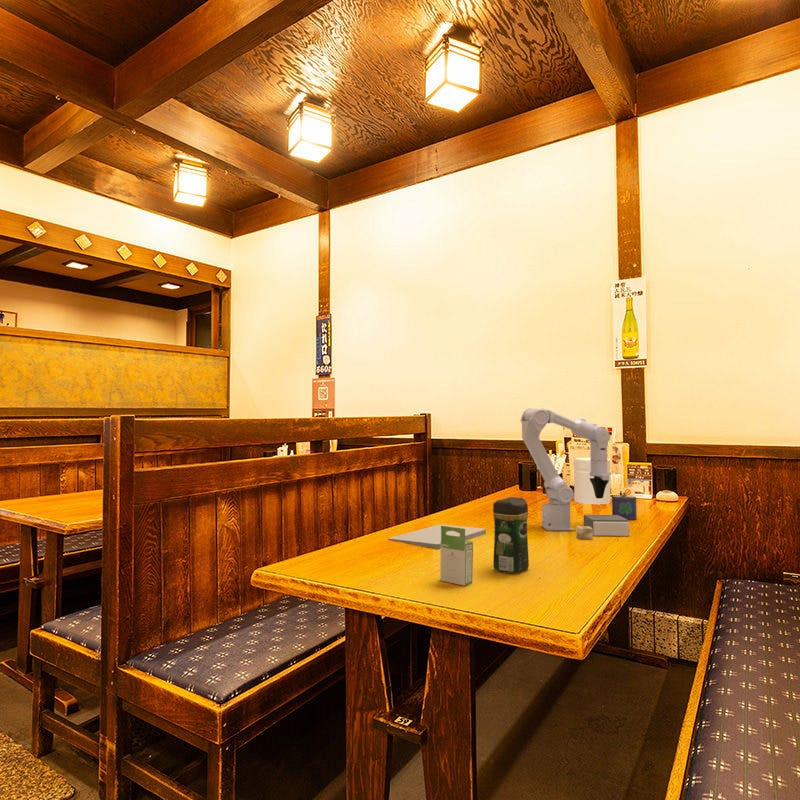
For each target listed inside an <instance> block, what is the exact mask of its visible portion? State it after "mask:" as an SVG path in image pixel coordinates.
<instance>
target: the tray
mask: <svg viewBox="0 0 800 800" xmlns="http://www.w3.org/2000/svg"><path fill="white" fill-rule="evenodd" d="M593 536H595V537H596V536H598V537H599V536H604V537H605V536H609V537H610V536H612V537H613V536H616V537H617V536H618V537H621V536H622V537H630V522H629V521H628V522H593Z"/></svg>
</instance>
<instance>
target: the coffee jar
mask: <svg viewBox="0 0 800 800" xmlns="http://www.w3.org/2000/svg"><path fill="white" fill-rule="evenodd" d="M492 505H493V506H492V508H493V509H492V515H493V521H494V535H493V536H494V537H493V538H494V540H493V569H494V570H495V571H497V572H499V573H503V574H519V573H522V572H524V571H525V570H527V569H528V568H529V565H530V564H529V563H530V559H529V543H528V541H529V539H528V517H529V507H528V506H529V505H528V502H527V500H525V499H524V498H522V497H517V496H515V497H514V496H510V497H505V498H503V499H499V500H496V501H495V502H493V504H492Z"/></svg>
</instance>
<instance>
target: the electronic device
mask: <svg viewBox="0 0 800 800" xmlns="http://www.w3.org/2000/svg"><path fill="white" fill-rule="evenodd" d="M441 526H448V527H455V528H463V529H465V541H470V540H472V539H475V538H477V537H481V536H483V535H486V534H487V528H481V527H472V526H471V527H469V526H458V525H447V524H435V525H433V526H429V527H424V528H421V529H417V530H413V531H410V532H407V533H403V534H399V535H395V536H391V537H389V538H388V540H389V541H391V542H392V541H393V542H398V543H403V544H408V545H414V546H418V547H423V548H429V549H433V550H441ZM446 534H447V535H453V536H460V534H459V533H457V532H455V531H448V532H446Z"/></svg>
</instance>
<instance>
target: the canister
mask: <svg viewBox="0 0 800 800" xmlns="http://www.w3.org/2000/svg"><path fill="white" fill-rule="evenodd" d="M573 466H574V469H573V474H574V475H573V477H574V483H573V487H574V489H573V493H574V497H573V499H574V501H573V502H574V503H577V502H578V504H582V503H583V505H591V504H594V505H593V506H598V505H599V506H601V505H600V504H606V505H610V504H612V496H611V475H609V482H608V483H607V485H606V488H605V491H604V495H603V498H596V497H595V493H594V488H593V485H592V483H591V481H590V478H594V476H590V471H591V457H574V459H573ZM607 472H610V473H611V459H610V458H607ZM609 503H610V504H609ZM596 504H597V505H596Z"/></svg>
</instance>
